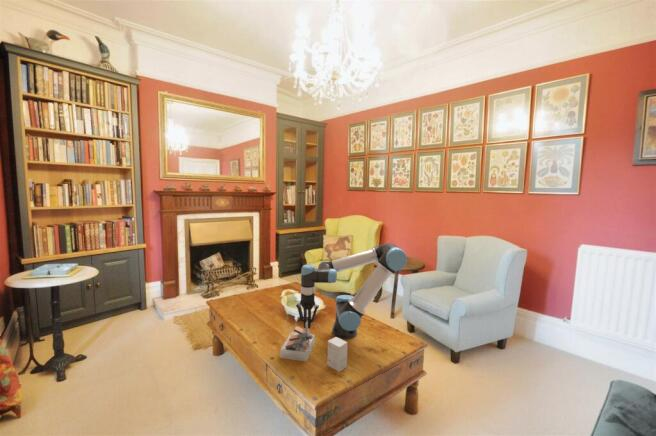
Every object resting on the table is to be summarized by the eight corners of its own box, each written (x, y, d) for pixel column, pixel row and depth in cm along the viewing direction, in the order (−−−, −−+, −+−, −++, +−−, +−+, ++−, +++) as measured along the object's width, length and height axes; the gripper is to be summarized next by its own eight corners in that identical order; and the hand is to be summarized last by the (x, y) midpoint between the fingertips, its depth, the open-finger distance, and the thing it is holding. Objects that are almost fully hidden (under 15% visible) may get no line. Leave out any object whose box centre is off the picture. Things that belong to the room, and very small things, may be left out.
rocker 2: (307, 337, 160) (306, 333, 160) (305, 341, 156) (304, 337, 156) (292, 339, 162) (291, 335, 162) (289, 342, 158) (288, 338, 158)
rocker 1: (309, 336, 166) (310, 333, 166) (307, 340, 162) (308, 336, 162) (295, 328, 167) (296, 325, 167) (293, 332, 163) (294, 329, 163)
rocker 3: (304, 341, 154) (302, 337, 154) (302, 345, 150) (300, 341, 150) (289, 346, 156) (287, 342, 156) (286, 350, 152) (285, 346, 152)
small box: (347, 366, 146) (348, 342, 144) (339, 372, 141) (339, 347, 140) (335, 359, 151) (335, 336, 150) (326, 365, 147) (327, 340, 145)
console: (314, 343, 167) (314, 334, 166) (306, 361, 149) (306, 351, 149) (291, 340, 170) (291, 331, 169) (280, 358, 152) (280, 348, 151)
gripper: (320, 291, 164) (319, 331, 166) (298, 289, 166) (298, 328, 169) (317, 296, 156) (316, 338, 159) (294, 294, 159) (294, 335, 161)
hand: (307, 333), depth 164 cm, fingers closed
